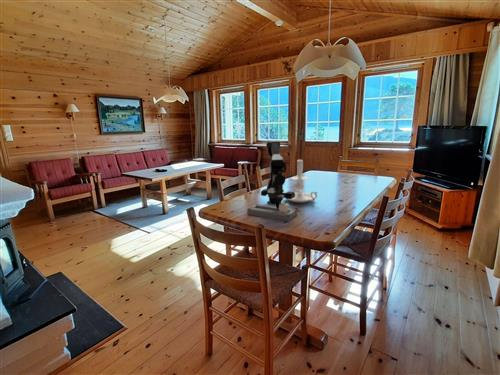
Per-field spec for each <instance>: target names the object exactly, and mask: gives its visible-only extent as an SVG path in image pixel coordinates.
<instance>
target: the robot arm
mask: <svg viewBox="0 0 500 375" xmlns="http://www.w3.org/2000/svg"><path fill="white" fill-rule="evenodd" d="M265 145H266V146H265V149H266V150H267V153H268V155H269V176H270V178H269V180H268V182H267V185H266V188H265V189H263V190H261V191H260V196H263V197H266V196H267V198H268V201H266V202H267V204H273V205H275V206H276V208H277V209H279V205H280V204H281V203H283V200H284V199H286V200H288V199H292V198H294V197H295V193H296V192H294V191H286V192H284V191H285V190H284V188H283V187H284V186H283V185H285V183H286V178H285V176H284V173H286V171H287V165H286V161H285V160H284V157H283V156H282V155H281V153H280V149H281V142H280V140H271V141H269V142H268V141H267V142H266V143H265Z"/></svg>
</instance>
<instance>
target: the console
mask: <svg viewBox="0 0 500 375" xmlns="http://www.w3.org/2000/svg"><path fill="white" fill-rule="evenodd" d="M246 215H251V216H256V217H262V218H268V219H274V220H280V221H285V222H289V221H291V220H292V219H294V218H295V217H296V216H297V215H298V211H297V209H295V208H290V207H289V212H288V213H285V212H279V209H277V208H276V205H275V206H274V205H267V204H260V203H256V204H254V205H252V206H249V207H248V208H247V211H246ZM294 216H295V217H294Z"/></svg>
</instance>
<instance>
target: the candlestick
mask: <svg viewBox="0 0 500 375" xmlns="http://www.w3.org/2000/svg"><path fill="white" fill-rule="evenodd" d="M303 171H304V161H303V159H297V160H296V176H292V177H290V179H291V180H293V181H296V184H295V190H296V191H297V192H294V193H295V197H294V198H292V199H287V200H288V201H289V202H293V203H300V204H301V203H308V202H315V200H316V199H317V197H318V194H319V193H318V191H312V192H311V193H307V192H303V190H304V189H305V186H304V183H303V181H306V180H308V179H309V177H308V176H303ZM317 193H318V194H317Z"/></svg>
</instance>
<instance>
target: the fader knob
mask: <svg viewBox="0 0 500 375" xmlns="http://www.w3.org/2000/svg"><path fill="white" fill-rule="evenodd" d="M289 208H290V203H287V202H281V204H280V205H279V212H285V213H288V212H289Z"/></svg>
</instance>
